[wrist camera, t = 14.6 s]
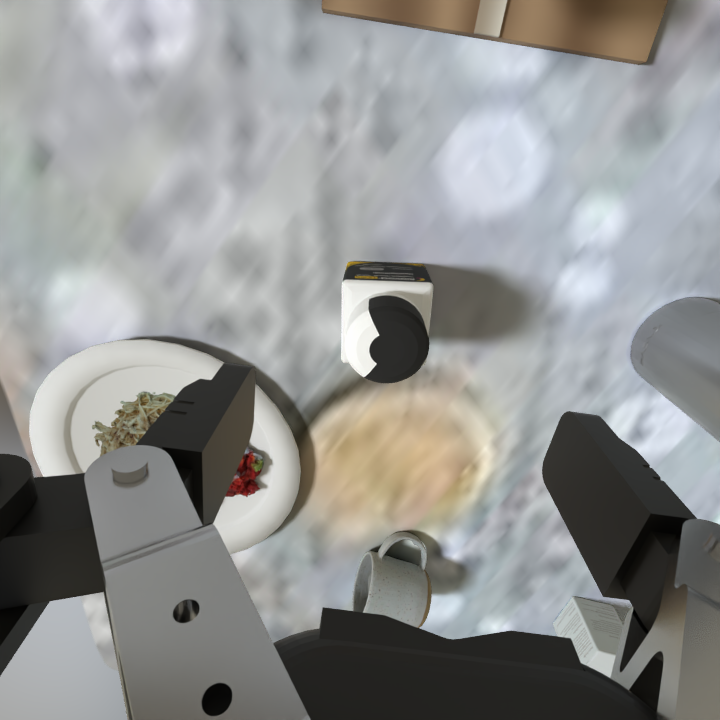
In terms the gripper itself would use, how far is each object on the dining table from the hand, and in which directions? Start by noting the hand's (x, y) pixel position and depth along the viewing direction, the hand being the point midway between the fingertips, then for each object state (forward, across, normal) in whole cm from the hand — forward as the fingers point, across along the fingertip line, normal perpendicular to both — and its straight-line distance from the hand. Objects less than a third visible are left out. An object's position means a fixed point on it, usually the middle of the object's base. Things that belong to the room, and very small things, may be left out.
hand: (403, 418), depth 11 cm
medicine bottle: (+30, -1, +6) cm, 31 cm away
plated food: (+31, +20, +28) cm, 46 cm away
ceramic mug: (+30, -8, +40) cm, 51 cm away
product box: (+30, -35, +46) cm, 65 cm away
